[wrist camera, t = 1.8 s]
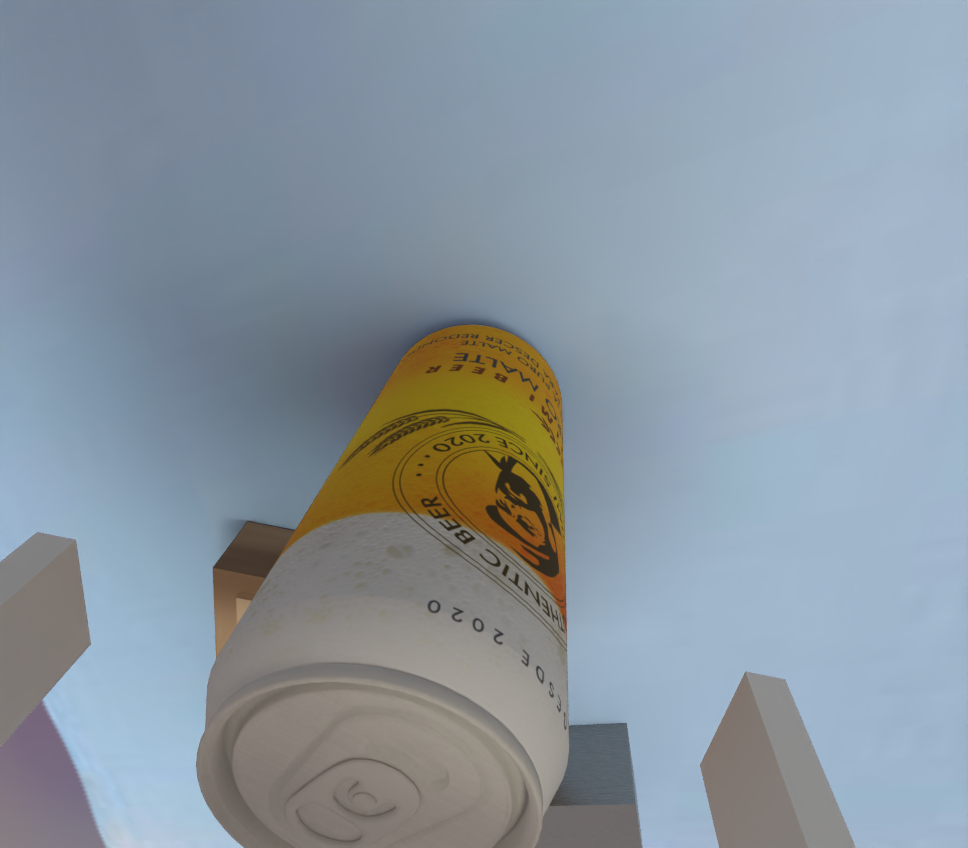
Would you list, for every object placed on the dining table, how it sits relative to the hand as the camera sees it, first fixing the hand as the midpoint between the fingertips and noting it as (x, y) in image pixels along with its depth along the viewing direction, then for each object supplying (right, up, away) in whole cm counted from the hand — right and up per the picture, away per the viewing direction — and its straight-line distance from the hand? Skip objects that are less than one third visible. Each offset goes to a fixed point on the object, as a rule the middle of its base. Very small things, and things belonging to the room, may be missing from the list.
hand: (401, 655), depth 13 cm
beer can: (+1, +6, +11) cm, 12 cm away
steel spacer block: (+6, -12, +19) cm, 23 cm away
